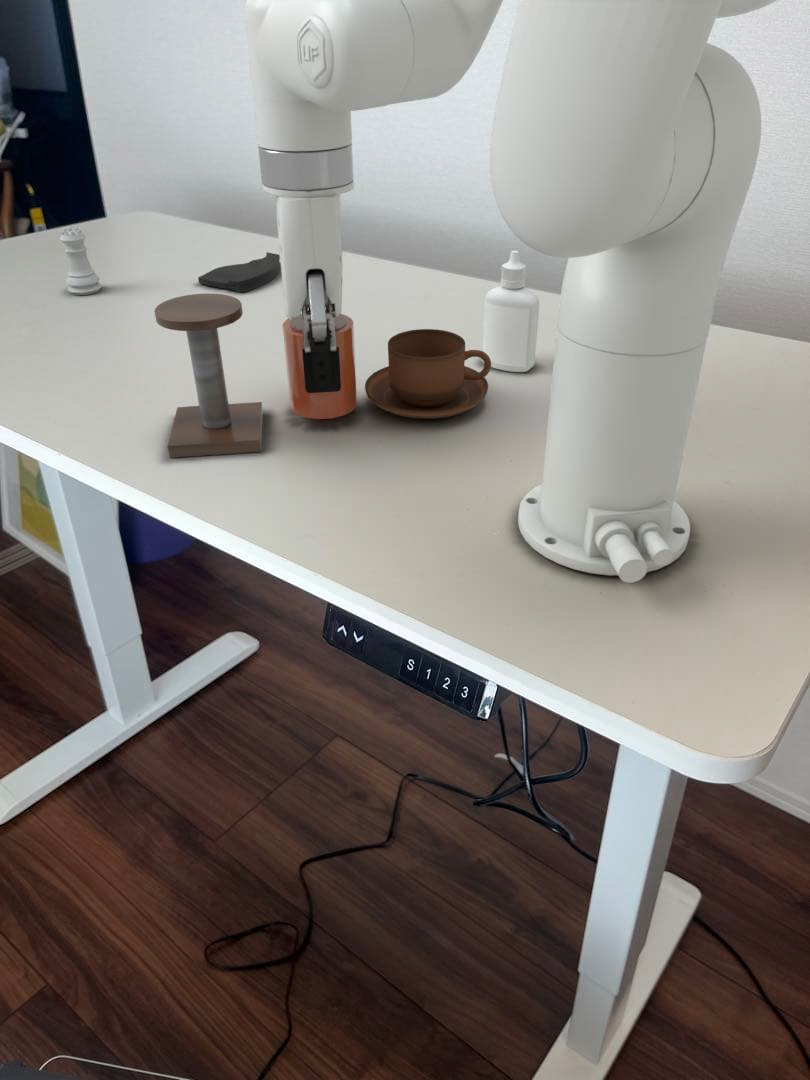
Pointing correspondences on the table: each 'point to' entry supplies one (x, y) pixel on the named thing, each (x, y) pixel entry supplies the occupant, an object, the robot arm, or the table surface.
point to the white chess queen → (79, 264)
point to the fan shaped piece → (243, 274)
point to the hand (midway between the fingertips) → (321, 373)
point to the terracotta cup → (301, 400)
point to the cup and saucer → (428, 376)
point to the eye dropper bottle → (511, 320)
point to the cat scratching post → (209, 381)
